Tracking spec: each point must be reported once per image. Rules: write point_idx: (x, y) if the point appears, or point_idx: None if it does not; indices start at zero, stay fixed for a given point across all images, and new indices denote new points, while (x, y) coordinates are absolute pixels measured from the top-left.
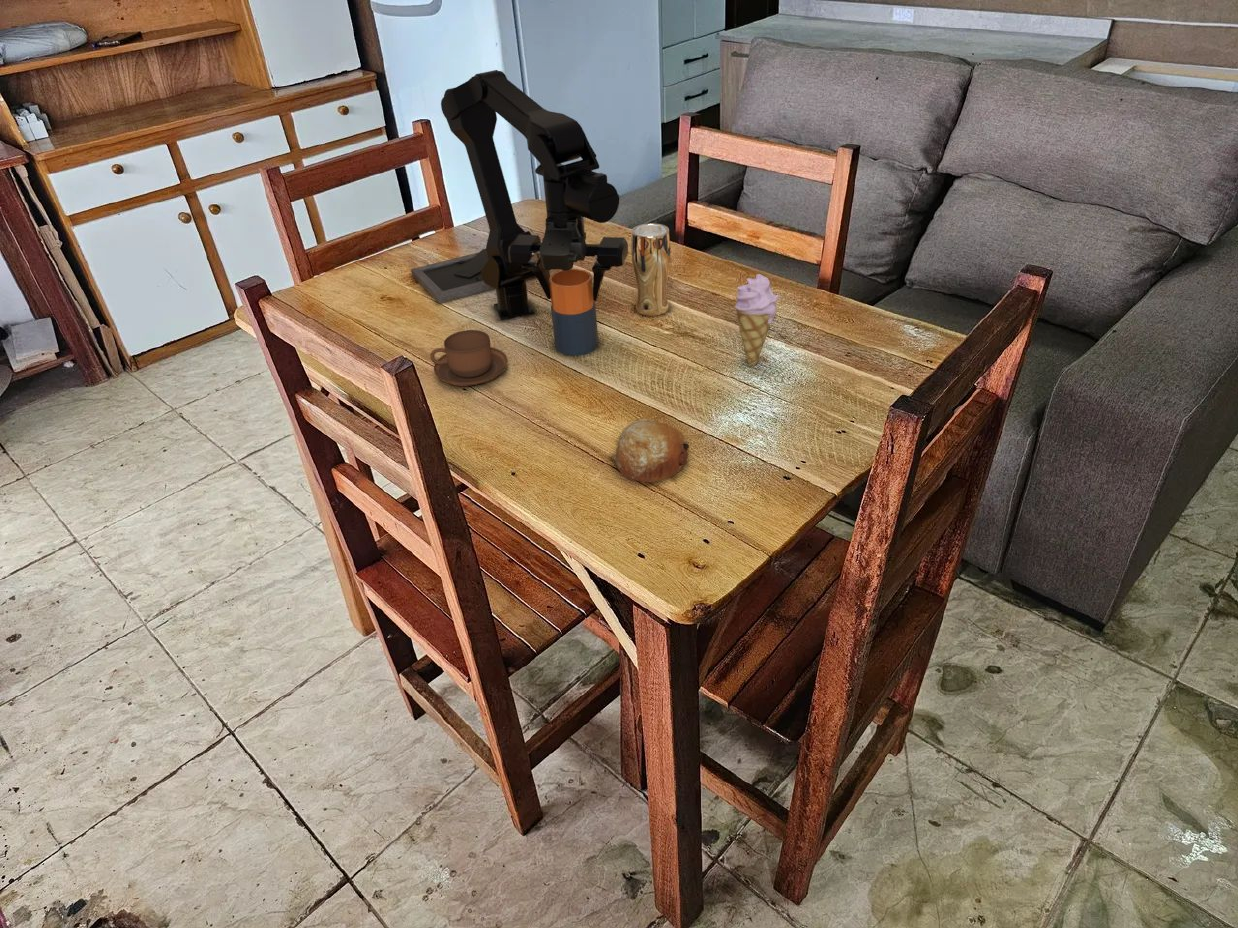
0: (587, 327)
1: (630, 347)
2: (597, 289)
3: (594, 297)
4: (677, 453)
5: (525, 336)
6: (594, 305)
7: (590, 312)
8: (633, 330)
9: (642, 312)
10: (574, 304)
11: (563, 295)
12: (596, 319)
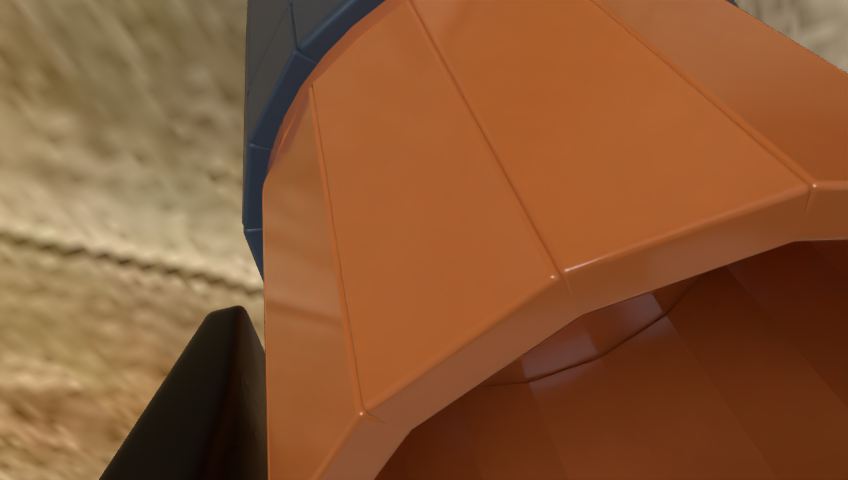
0: (265, 15)
1: (2, 125)
2: (118, 467)
3: (215, 341)
4: None
5: (809, 25)
6: None
7: (246, 149)
8: (144, 318)
9: None
10: (427, 50)
11: (700, 69)
12: None
